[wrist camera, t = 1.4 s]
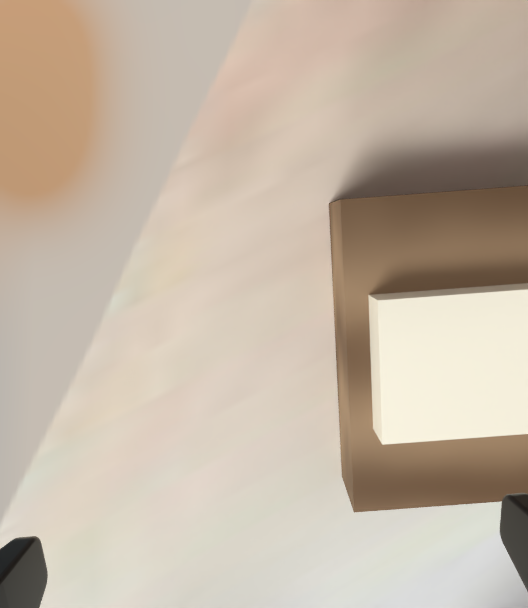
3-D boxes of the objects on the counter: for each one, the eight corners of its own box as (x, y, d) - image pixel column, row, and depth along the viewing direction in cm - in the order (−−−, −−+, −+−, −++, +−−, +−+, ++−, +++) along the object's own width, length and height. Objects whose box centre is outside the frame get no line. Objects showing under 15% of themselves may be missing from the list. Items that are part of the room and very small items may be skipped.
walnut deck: (570, 459, 23) (615, 492, 20) (341, 476, 23) (354, 512, 20) (582, 184, 21) (635, 177, 18) (329, 203, 21) (340, 199, 18)
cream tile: (553, 415, 20) (577, 430, 18) (373, 428, 20) (382, 444, 18) (558, 280, 19) (583, 285, 17) (368, 294, 19) (377, 300, 17)
